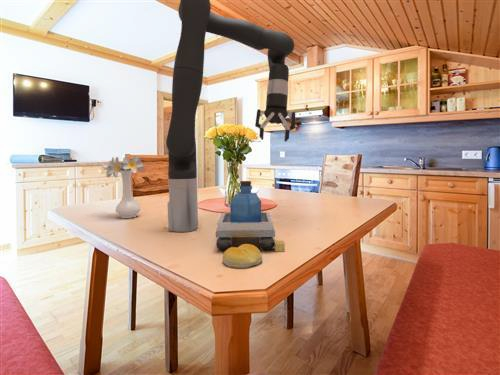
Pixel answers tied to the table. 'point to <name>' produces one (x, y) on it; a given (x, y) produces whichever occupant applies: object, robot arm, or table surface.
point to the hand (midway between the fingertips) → (273, 140)
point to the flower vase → (125, 183)
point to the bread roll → (242, 256)
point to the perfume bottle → (245, 205)
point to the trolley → (248, 232)
